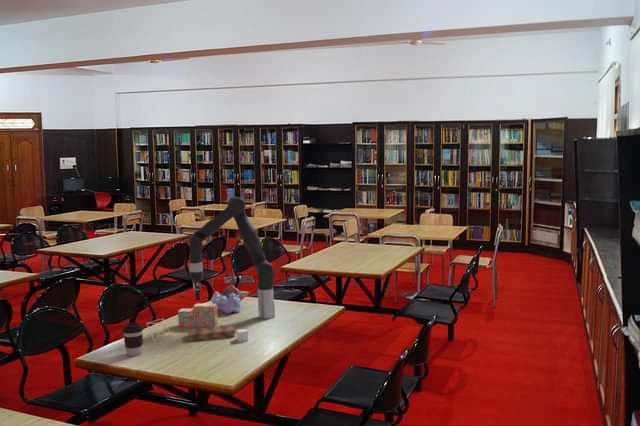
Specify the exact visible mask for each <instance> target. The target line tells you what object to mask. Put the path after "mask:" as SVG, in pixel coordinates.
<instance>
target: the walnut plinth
mask: <svg viewBox="0 0 640 426" xmlns="http://www.w3.org/2000/svg"><path fill="white" fill-rule="evenodd" d="M187 331H188V342H198V341H206V340H207V341H208V340H217V339H228V338H229V339H230V338H235V337H236V335H235V328H234V325H233V324H232V325H231V324H230V325H229V324H228V325H221V326H215V327H197V328H190V329H188V330H187Z"/></svg>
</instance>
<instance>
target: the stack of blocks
mask: <svg viewBox="0 0 640 426" xmlns="http://www.w3.org/2000/svg"><path fill="white" fill-rule="evenodd" d="M177 317H178V318H177V320H178V328H208V327H217V325H218V324H219V323H218V308H217V304H213V303H195V304H194V305H193V307H192V308H181V309H179V310H178V311H177Z"/></svg>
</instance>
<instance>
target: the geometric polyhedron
mask: <svg viewBox="0 0 640 426" xmlns="http://www.w3.org/2000/svg"><path fill="white" fill-rule="evenodd" d="M159 320H161V321H160V323H159V322H158V323H157V321H159ZM162 322H163V323H162ZM148 324H149V325H151V324H153V325H155V324H156V325H158V326H157V327H156V330H155V331H154V332H153V333H152V331H151V329H150V326H149V325H148ZM160 325H163V326H162V327H161V330H160V331H159V333H158V335H157V334H155V333H156V331H157V330H158V328H159V327H160ZM146 326H147V329H148V331H149V333H150V335H151V338H152V339H153V341H155V342H157V341H160V340H163V339H166V338H170V337H171V336H172V335H171V333H170V329H169V327H168V325H167V323H166V321H165V318H160V319H156V320H152V321H149V322H146ZM164 326H165V327H166V329H167V331H168V332H169V335H168V336H165V337H163V338H160V339H158V337H161V334H160V333H161V332H162V330H163V329H164ZM155 336H156V337H155ZM154 337H155V338H154ZM156 339H157V340H156Z"/></svg>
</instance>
